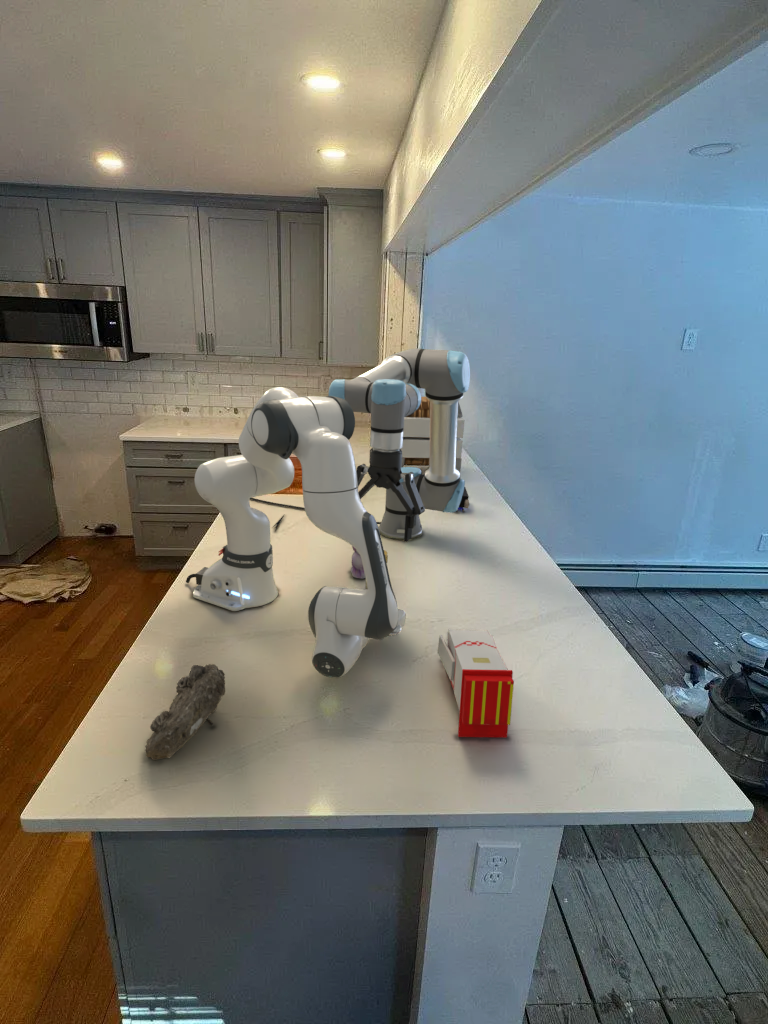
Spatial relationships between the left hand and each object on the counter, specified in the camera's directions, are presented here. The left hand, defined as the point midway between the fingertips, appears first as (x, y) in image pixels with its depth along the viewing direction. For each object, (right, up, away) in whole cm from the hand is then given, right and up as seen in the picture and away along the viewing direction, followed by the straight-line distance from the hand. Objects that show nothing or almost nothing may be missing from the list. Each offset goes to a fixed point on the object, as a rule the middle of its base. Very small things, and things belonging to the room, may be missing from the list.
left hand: (372, 599), depth 141 cm
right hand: (+3, +17, -4) cm, 17 cm away
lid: (+1, +12, -3) cm, 12 cm away
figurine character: (+33, +23, +87) cm, 96 cm away
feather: (-34, +20, +68) cm, 78 cm away
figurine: (-3, +4, +28) cm, 28 cm away
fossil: (-33, -18, -35) cm, 51 cm away
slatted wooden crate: (+20, +41, +134) cm, 141 cm away
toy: (+21, -16, -23) cm, 35 cm away
